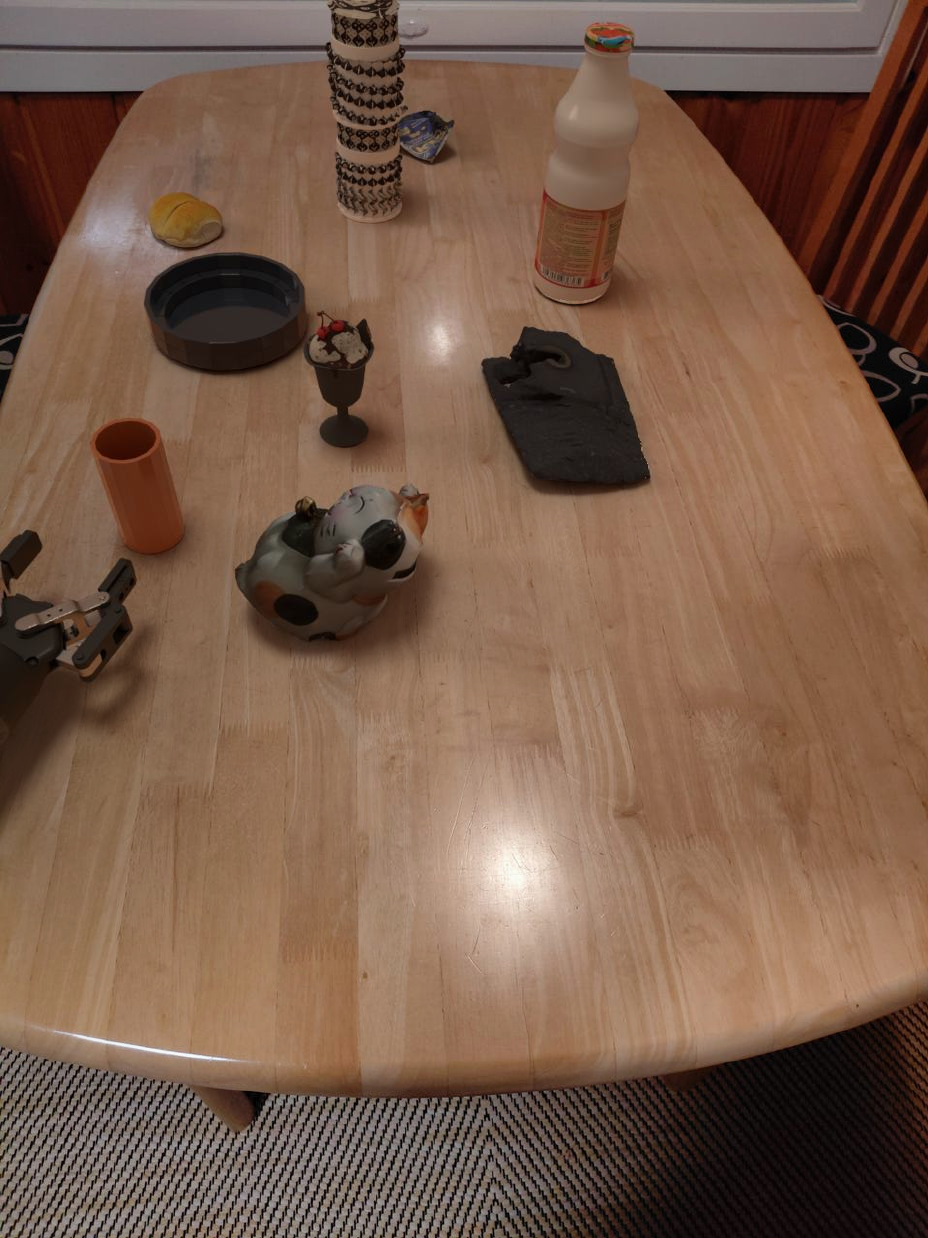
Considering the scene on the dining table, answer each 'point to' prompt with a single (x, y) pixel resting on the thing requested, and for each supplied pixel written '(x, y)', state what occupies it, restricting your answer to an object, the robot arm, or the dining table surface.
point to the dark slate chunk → (566, 410)
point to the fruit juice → (588, 170)
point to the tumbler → (138, 484)
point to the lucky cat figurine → (335, 561)
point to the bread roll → (184, 220)
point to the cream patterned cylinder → (366, 107)
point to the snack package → (423, 133)
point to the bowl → (226, 310)
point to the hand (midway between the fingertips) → (82, 551)
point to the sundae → (340, 375)
